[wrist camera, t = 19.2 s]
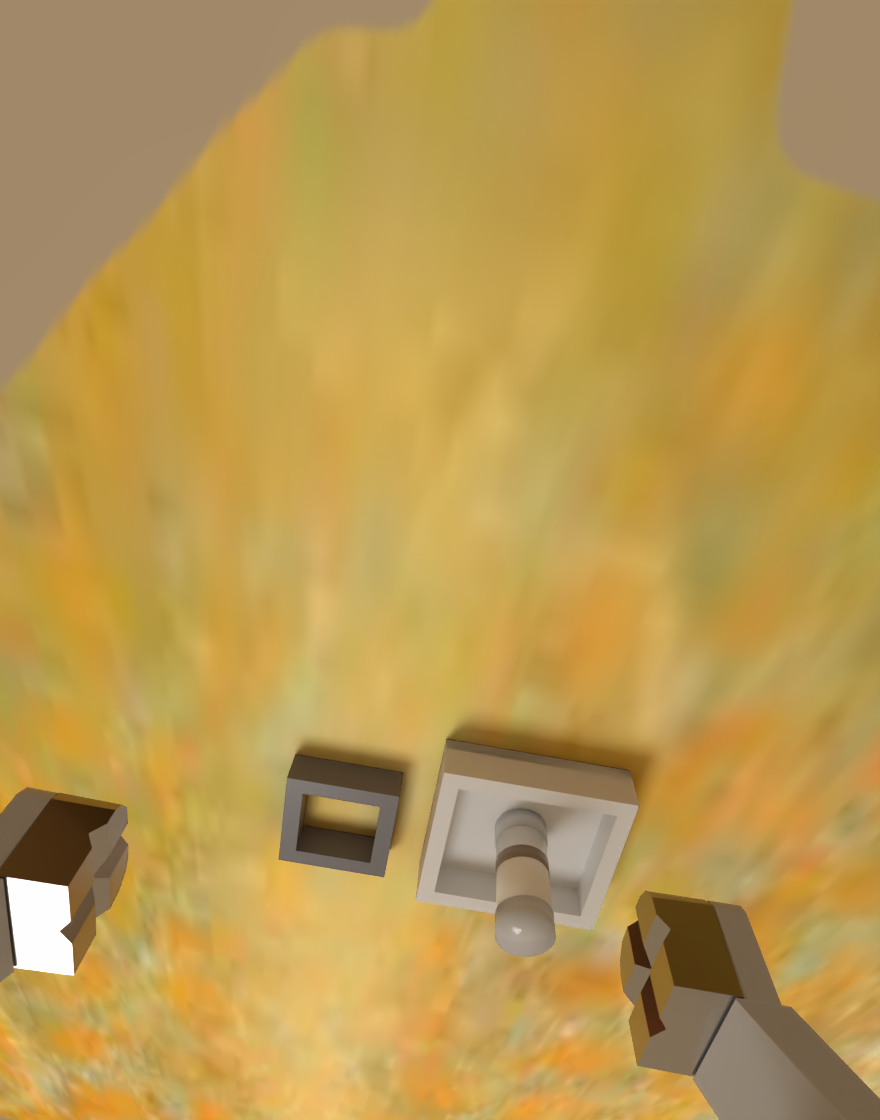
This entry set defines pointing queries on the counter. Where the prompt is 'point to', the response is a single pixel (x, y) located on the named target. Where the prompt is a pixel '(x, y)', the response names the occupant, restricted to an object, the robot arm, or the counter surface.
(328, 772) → the gray square frame
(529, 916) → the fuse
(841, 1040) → the counter surface
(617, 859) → the parts tray
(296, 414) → the counter surface
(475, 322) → the counter surface
